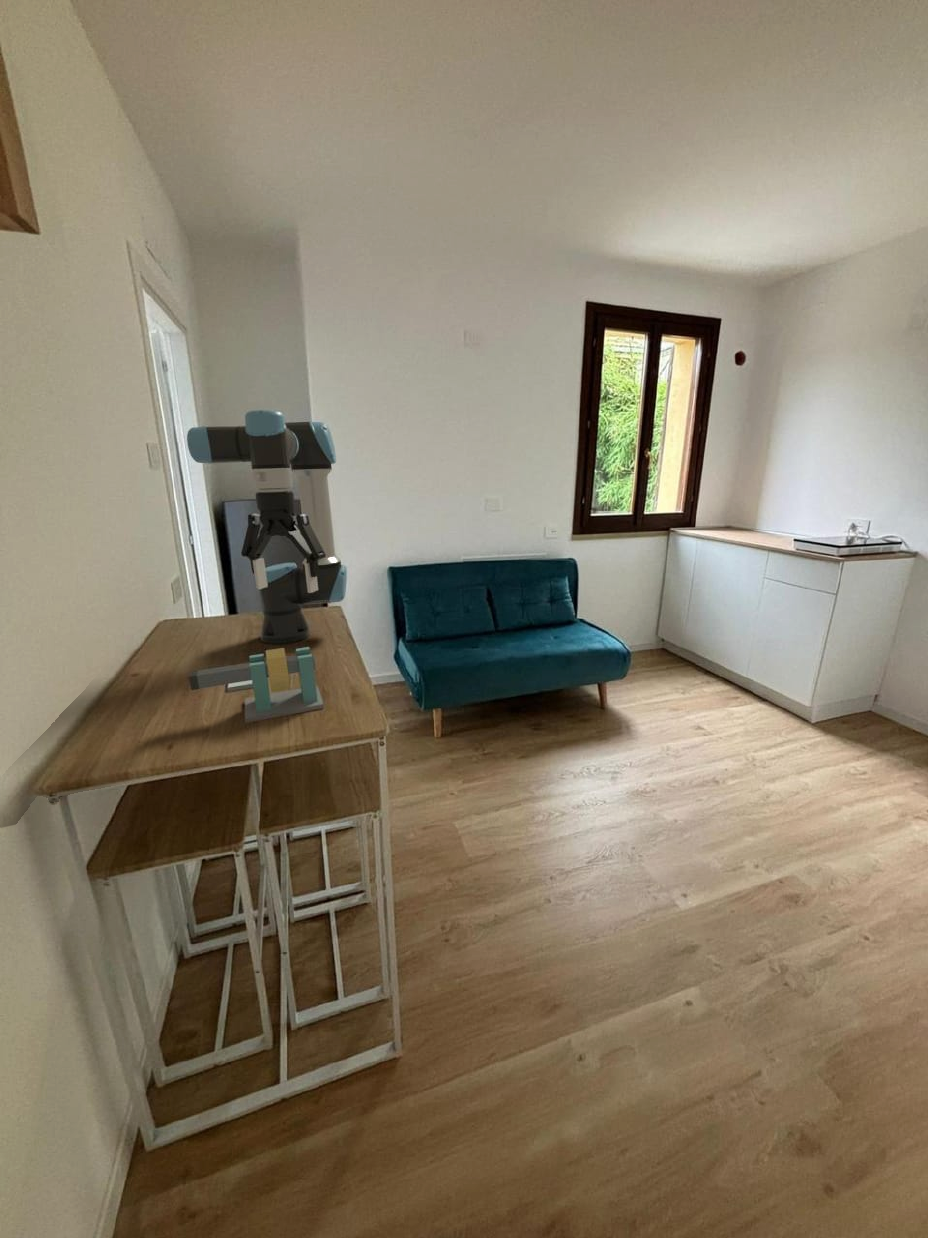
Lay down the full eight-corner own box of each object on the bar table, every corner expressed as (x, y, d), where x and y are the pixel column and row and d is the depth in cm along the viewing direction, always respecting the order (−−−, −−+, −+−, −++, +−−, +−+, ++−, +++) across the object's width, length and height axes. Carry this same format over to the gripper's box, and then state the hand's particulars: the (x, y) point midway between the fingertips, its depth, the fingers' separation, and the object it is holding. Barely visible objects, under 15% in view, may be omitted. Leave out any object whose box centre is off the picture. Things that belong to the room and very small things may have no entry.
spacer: (270, 682, 118) (265, 650, 116) (288, 679, 120) (284, 647, 117) (271, 692, 113) (266, 659, 111) (290, 688, 114) (285, 656, 112)
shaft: (192, 684, 111) (190, 671, 110) (314, 665, 120) (312, 652, 119) (191, 690, 108) (188, 676, 107) (315, 669, 117) (314, 657, 116)
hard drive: (262, 682, 128) (261, 664, 139) (227, 687, 125) (229, 669, 137) (263, 688, 129) (262, 670, 140) (228, 694, 126) (230, 675, 137)
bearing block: (245, 702, 120) (237, 654, 116) (317, 689, 126) (312, 643, 122) (245, 723, 110) (236, 671, 107) (323, 708, 116) (318, 658, 112)
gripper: (213, 492, 107) (230, 590, 114) (313, 491, 99) (325, 597, 105) (240, 490, 114) (254, 582, 120) (335, 488, 106) (345, 588, 112)
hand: (287, 589), depth 113 cm, fingers open, 13 cm apart
